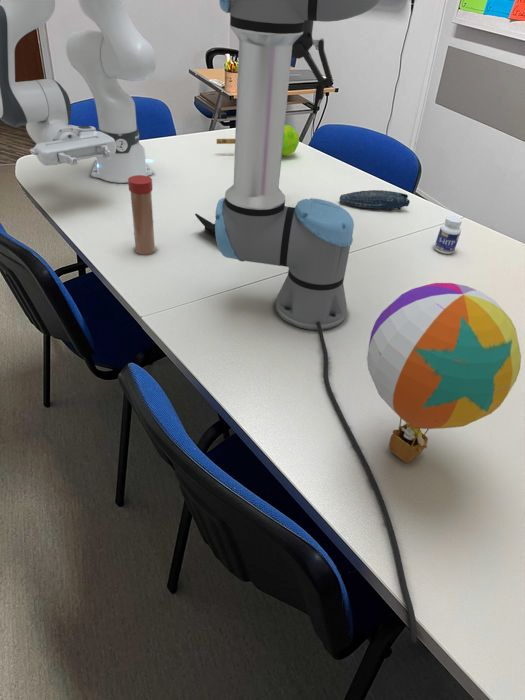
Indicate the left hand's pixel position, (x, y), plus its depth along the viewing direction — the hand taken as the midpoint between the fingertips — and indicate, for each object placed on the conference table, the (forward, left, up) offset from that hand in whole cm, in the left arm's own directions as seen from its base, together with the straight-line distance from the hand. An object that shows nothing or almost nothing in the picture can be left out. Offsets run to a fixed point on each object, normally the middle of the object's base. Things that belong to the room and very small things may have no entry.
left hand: (91, 158), depth 130 cm
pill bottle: (+34, +87, -16) cm, 95 cm away
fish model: (+4, +81, -16) cm, 83 cm away
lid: (+20, +9, +2) cm, 22 cm away
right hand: (+3, +50, +12) cm, 52 cm away
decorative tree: (-44, +59, -16) cm, 75 cm away
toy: (+94, +40, -16) cm, 104 cm away
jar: (+20, +9, -16) cm, 27 cm away
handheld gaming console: (+16, +30, -16) cm, 37 cm away
